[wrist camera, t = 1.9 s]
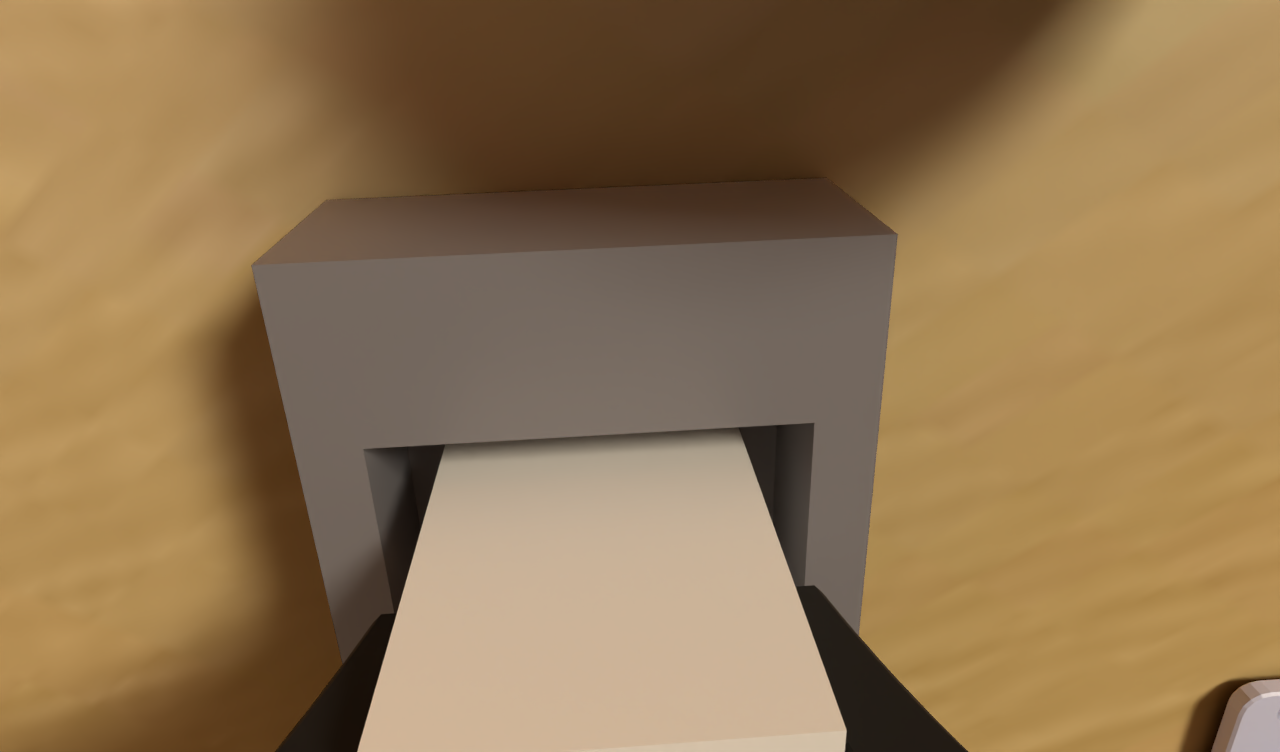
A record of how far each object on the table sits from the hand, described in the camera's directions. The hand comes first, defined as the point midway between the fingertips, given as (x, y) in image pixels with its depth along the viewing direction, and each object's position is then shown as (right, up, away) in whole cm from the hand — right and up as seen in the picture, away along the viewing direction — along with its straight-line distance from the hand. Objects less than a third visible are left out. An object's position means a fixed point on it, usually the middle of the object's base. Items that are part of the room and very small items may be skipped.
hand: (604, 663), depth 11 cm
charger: (0, +1, +3) cm, 3 cm away
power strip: (0, -2, +5) cm, 6 cm away
